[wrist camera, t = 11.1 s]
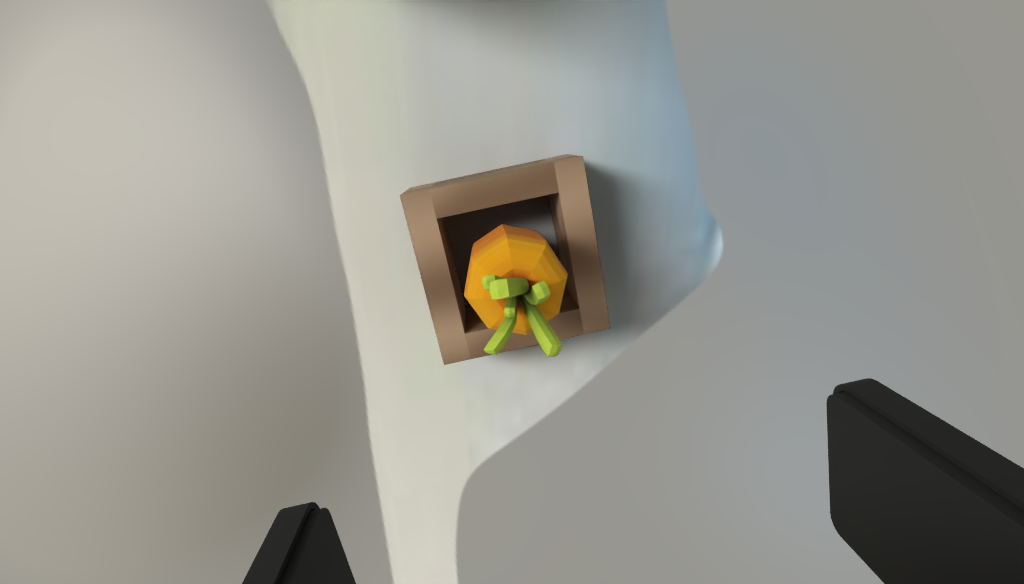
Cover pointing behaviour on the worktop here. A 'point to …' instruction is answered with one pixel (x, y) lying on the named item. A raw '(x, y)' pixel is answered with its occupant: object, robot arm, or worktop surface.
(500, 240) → the carrot
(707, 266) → the worktop surface
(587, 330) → the holder
